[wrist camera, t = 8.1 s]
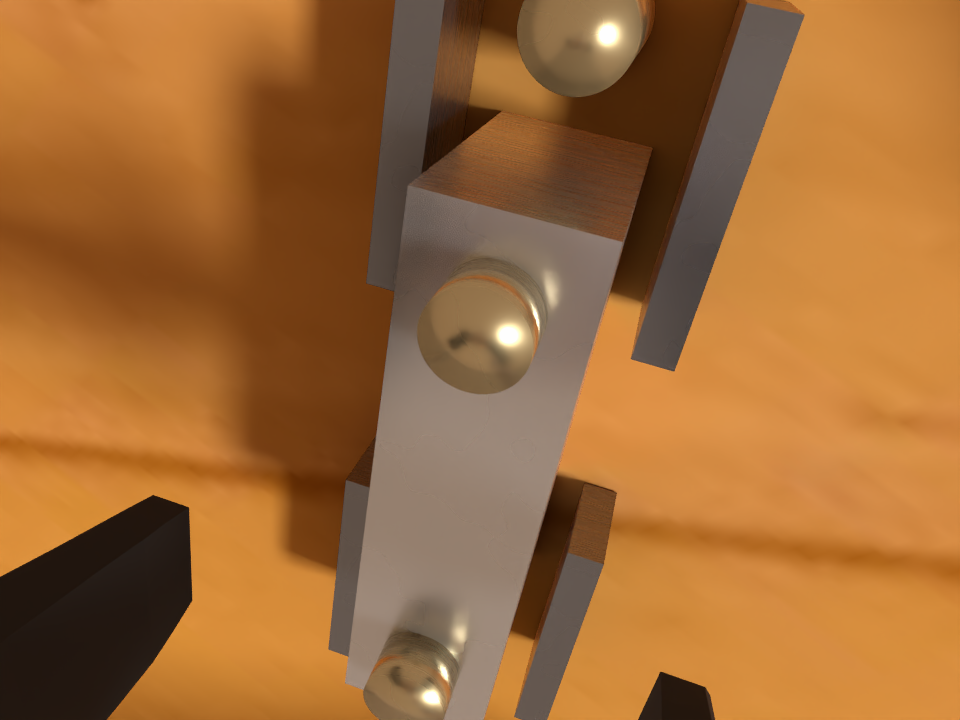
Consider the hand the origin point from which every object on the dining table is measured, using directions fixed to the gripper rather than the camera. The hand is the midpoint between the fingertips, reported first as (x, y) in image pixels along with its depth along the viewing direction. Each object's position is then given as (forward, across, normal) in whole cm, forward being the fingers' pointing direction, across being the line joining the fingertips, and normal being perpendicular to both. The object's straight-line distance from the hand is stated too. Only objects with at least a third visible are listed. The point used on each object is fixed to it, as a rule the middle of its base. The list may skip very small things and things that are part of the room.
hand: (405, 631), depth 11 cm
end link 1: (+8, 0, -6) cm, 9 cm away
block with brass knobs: (+8, 0, 0) cm, 8 cm away
